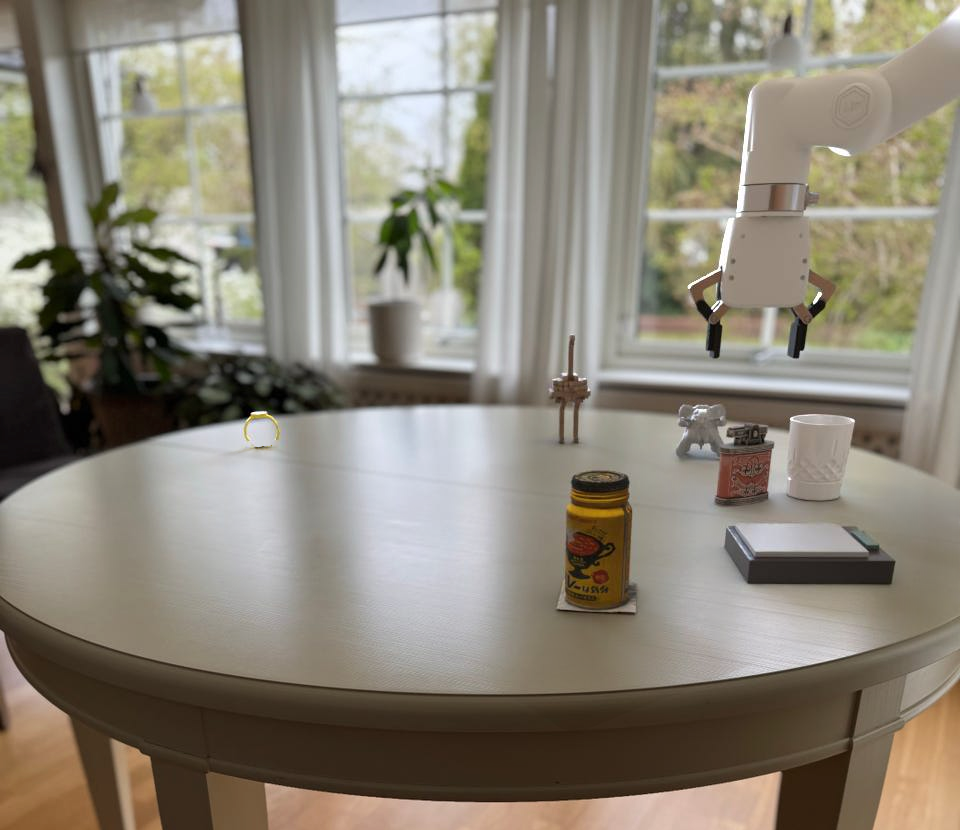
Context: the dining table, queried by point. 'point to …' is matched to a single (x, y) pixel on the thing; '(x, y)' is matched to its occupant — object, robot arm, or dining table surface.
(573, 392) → the ostrich figurine
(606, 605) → the condiment
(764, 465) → the lighter
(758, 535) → the scale
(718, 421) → the elephant statuette
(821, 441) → the white cup
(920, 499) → the dining table surface
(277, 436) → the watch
